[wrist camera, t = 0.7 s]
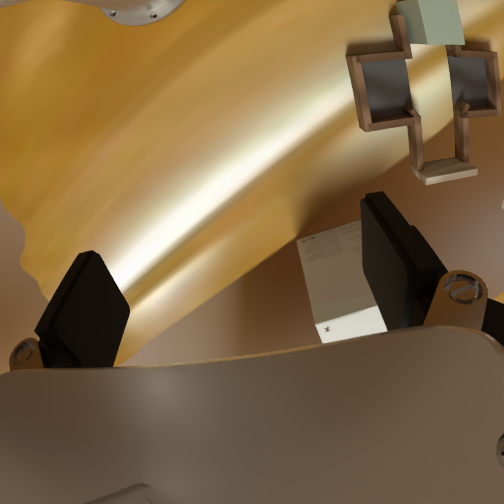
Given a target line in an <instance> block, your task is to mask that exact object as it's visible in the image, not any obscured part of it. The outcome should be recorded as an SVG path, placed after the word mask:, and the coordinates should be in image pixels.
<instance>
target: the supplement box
mask: <svg viewBox="0 0 504 504" xmlns="http://www.w3.org/2000/svg"><path fill="white" fill-rule="evenodd" d="M297 246H298V250H299V254H300V259H301V263H302V267H303V271H304V275H305V280H306V284H307V288H308V293H309V297H310V302H311V307H312V311H313V316H314V321H315V325H316V328H317V330H318V333H319V335H320V337H321V340H322V343H328V342H334V341H339V340H344V339H349V338H354V337H359V336H364V335H369V334H375V333H381V332H386V331H387V328H386V326H385V323H384V321H383V318H382V316H381V313H380V311H379V308H378V306H377V303H376V301H375V299H374V296H373V294H372V291H371V289H370V287H369V284H368V282H367V280H366V277H365V275H364V272H363V267H362V230H361V220H357V221H354V222H351V223H348V224H345V225H342V226H339V227H336V228H333V229H330V230H327V231H323V232H320V233H317V234H314V235H311V236H308V237H305V238H302V239H299V240H297Z"/></svg>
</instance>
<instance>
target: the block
mask: <svg viewBox="0 0 504 504" xmlns="http://www.w3.org/2000/svg"><path fill="white" fill-rule="evenodd" d="M396 4H397V8H398V11H399V15H404V19H405V23H406V28H407V32H408V37H409V42H410V43H411V44H426V45H435V44H443V45H465V40H464V35H463V29H462V24H461V19H460V14H459V10H458V5H457V1H451V0H405V1H401V2H396Z"/></svg>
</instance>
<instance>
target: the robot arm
mask: <svg viewBox="0 0 504 504" xmlns="http://www.w3.org/2000/svg"><path fill="white" fill-rule="evenodd" d="M26 1H30V0H0V8H2V7H7V6H11V5H15V4H19V3H22V2H26ZM63 1H69V2H75V3H81V4H86V5H91V6H97V7H99V8H100V10H101V11H102V12H103V13H104V15H105V16H107V17H108V18H109V19H111V20H112V21H115V22H117V23H120V24H124V25H130V26H142V25H147V24H151V23H154V22H157V21H160V20H162V19H163V18H165V17H167V16H169V15H170V14H172V13H173V12H174V11H176V10H177V9H178V8H179V7H180V6H181V5H182V4H183V3H184V1H185V0H63ZM114 13H116V15H115V16H114ZM154 15H157V17H156V18H154ZM361 230H362V267H363V272H364V275H365V277H366V280H367V282H368V284H369V287H370V289H371V291H372V294H373V296H374V299H375V301H376V303H377V306H378V308H379V311H380V313H381V316H382V318H383V321H384V323H385V326H386V328H387V331H386V332H381V333H375V334H369V335H364V336H359V337H354V338H349V339H344V340H339V341H334V342H328V343H322V344H316V345H311V346H305V347H299V348H294V349H288V350H281V351H275V352H269V353H261V354H254V355H247V356H240V357H239V356H238V357H230V358H222V359H213V360H205V361H194V362H183V363H171V364H158V365H145V366H126V367H113V365H114V362H115V358H116V355H117V352H118V349H119V345H120V342H121V339H122V336H123V333H124V330H125V327H126V324H127V321H128V318H129V315H130V308H129V305H128V303H127V301H126V300H125V298H124V296H123V295H122V293H121V291H120V290H119V288H118V286H117V284H116V283H115V281H114V279H113V277H112V276H111V274H110V272H109V270H108V269H107V267H106V265H105V263H104V261H103V260H102V258H101V256H100V255H99V254H98V253H96V252H95V251H93V250H91V251H87V252H83V253H79V254H78V256H77V257H76V259H75V260H74V262H73V263H72V265H71V267H70V268H69V270H68V272H67V273H66V275H65V276H64V278H63V280H62V281H61V283H60V285H59V287H58V288H57V290H56V292H55V293H54V295H53V297H52V299H51V300H50V302H49V304H48V306H47V308H46V310H45V311H44V313H43V315H42V317H41V319H40V321H39V323H38V324H37V326H36V328H35V330H34V331H35V333H36V334H37V335H38V336H39V337H40V340H39V342H38V341H37V340H36V339H34V338H27V339H24V340H23V341H21V342H20V343H19V344H18V345H17V346H16V347H15V348H14V349H13V351H12V353H11V355H10V358H9V365H10V371H9V372H6V373H3V374H1V375H0V504H504V304H503V303H500V302H497V301H495V300H492V299H489V298H488V289H487V287H486V284H485V283H484V282H483V280H482V279H481V278H480V277H478V276H477V275H475V274H473V273H471V272H468V271H463V270H454V271H451V272H448V271H447V269H446V268H445V266H444V265H443V263H442V262H441V261H440V259H439V258H438V256H437V255H436V254H435V252H434V251H433V249H432V248H431V247H430V245H429V244H428V243H427V241H426V240H425V239H424V237H423V236H422V235H421V233H420V232H419V231H418V230H417V228H416V227H415V226H413V225H411V226H410V225H409V224H408V222H407V221H406V220H405V218H404V217H403V216H402V214H401V213H400V212H399V211H398V209H397V208H396V207H395V206H394V204H393V203H392V202H391V201H390V199H389V198H388V197H387V196H386V195H385V193H384V192H382V191H381V192H375V193H368V194H366V196H365V199H361Z"/></svg>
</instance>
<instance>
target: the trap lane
mask: <svg viewBox="0 0 504 504" xmlns="http://www.w3.org/2000/svg"><path fill="white" fill-rule="evenodd" d="M389 20H390V24H391V28H392V33H393V37H394V42H395V47H396V51H387V52H376V53H366V54H357V55H349V56H346V60H347V64H348V69H349V74H350V78H351V83H352V88H353V93H354V98H355V104H356V109H357V115H358V121H359V127H360V128H361V129H362V130H363V131H365V132H370V131H376V130H382V129H388V128H394V127H400V126H408V136H409V148H410V162H411V172H412V173H414V174H415V175H416V176H417V177H418V178H419V179H420V180H421V181H422V182H423V183H425V184H426V185H429V184H434V183H439V182H444V181H449V180H454V179H458V178H464V177H469V176H474V175H477V170H478V169H477V168H476V167H474V166H473V165H472V164H470V163H469V132H468V118H473V117H485V116H498V115H501V90H500V76H499V66H498V57H497V52H492V51H486V50H466V49H461V45H446V50H447V56H448V63H449V70H450V78H451V87H452V98H453V110H454V126H455V127H454V128H455V157H453V158H448V159H442V160H436V161H430V162H425V163H424V160H423V141H422V128H421V116H420V115H419V114H418V112H417V111H416V110H415V108H413V107H412V101H411V94H410V87H409V80H408V73H407V67H406V62H405V59H412V52H411V47H410V42H409V37H408V32H407V28H406V23H405V19H404V15H393V16H389Z"/></svg>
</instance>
